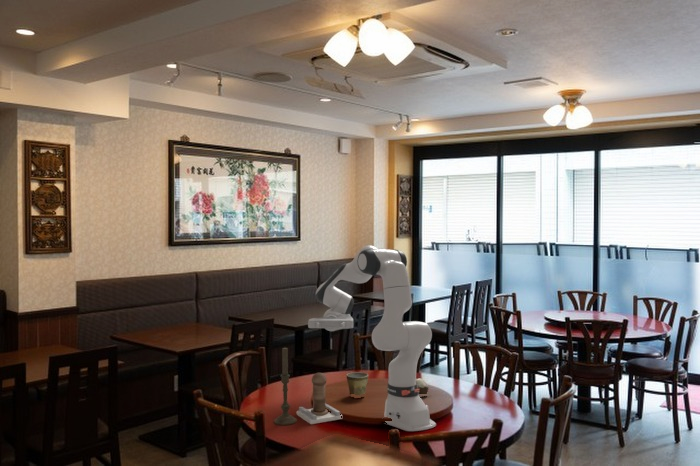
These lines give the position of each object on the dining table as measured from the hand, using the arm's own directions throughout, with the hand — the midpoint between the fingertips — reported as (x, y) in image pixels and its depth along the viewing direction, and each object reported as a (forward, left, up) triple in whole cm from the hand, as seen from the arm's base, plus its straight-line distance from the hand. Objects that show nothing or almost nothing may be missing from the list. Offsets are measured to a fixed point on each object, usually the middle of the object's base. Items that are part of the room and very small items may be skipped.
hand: (330, 325), depth 263 cm
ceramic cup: (+7, -17, -35) cm, 39 cm away
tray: (-12, +11, -34) cm, 38 cm away
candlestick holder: (-11, +26, -35) cm, 45 cm away
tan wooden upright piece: (-12, +11, -33) cm, 37 cm away
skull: (-6, -43, -35) cm, 55 cm away
